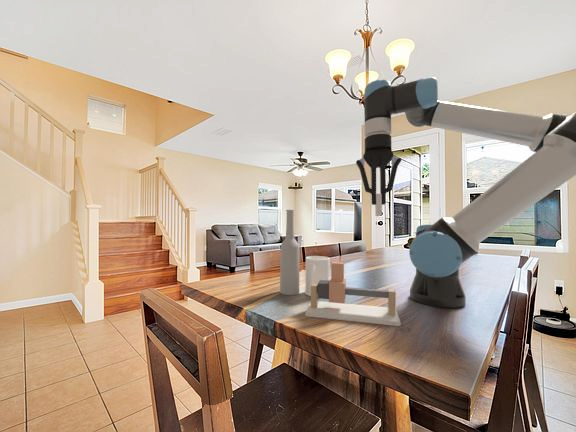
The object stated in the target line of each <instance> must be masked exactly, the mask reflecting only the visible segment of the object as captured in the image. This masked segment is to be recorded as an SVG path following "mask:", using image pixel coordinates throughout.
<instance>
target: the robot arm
mask: <svg viewBox="0 0 576 432" xmlns="http://www.w3.org/2000/svg"><path fill="white" fill-rule="evenodd" d="M438 85H439V84H438V79H437V77H433V76H431V77H427V78H420V79H417V80H413V81H409V82H406V83H402V84H398V85H391V82H390V81H389V80H387V79H381V80H380V79H377V80H373V81H371V82H369V83H368V84H367V85H366V86H365V88H364V99H363V104H364V105H363V109H364V137H365V138H364V154H363V156H362V157H361V158H360V159H357V160H356V162H355V164H356V167H357V168H358V169H359V173H360V176H361V179H362V184H363V187H364V191H365V193H367V194H370V195H371V205H373V206H375V217H382V215H383V211H382V210H383V209H382V206H383V205H385V204H386V202H387V201H386V200H387V199H386V197H387V196H386V194H387V193H389V192H391V191H392V190H393V188H394V183H395V179H396V175H397V171H398V167H399V165H400V163H401V162H402V158H401V157H397V156H396V155H394V151H393V149H392V136H391V134H392V115H396V114H397V115H398V114H402V113H404V114H405V118H406V120H407V122H409V124H411V126H413V127H415V128H416V127H417V128H419V127H420V128H422V127H424V126H427V127H432V128H437V129H441V130H446V131H451V132H452V131H453V132H457V133H461V134H466V135H472V136H476V137H481V138H486V139H491V140H495V141H496V140H497V141H502V142H505V143H510V144H511V143H512V144H515V145H521V146H525V147H528V148H529V151H530V152H533V154H532V155H530V156H529V157H528V158H527V159H526V160H524V161H523V162H522V163H520V164H518V166H516V167H515V168H514V169H512V170H511V171H510V172H509V173H508V174H506V175H505V176H503V177H502V178H501V179H500V180H498V181H497V182H496V183H495V184H493V185H492V186H491V187H489V188H488V189H487V190H485V191H484V192H483V193H481V194H480V195H479V196H477V197H476V198H475V199H474V200H473V201H471V202H470V203H469V204H467V205H466V206H464V208H462V209H461V210H459V211H458V212H457V213H456V214H454V215H453V216H452V217H451V216H450V217H447V216H446V217H445V216H442V217H441V218H439V219H438V220H437V221H436V222H434V223H433V224H422V225H418V226H417V227H416V230H415V237H414V238H413V239H412V241H411V243H410V244H409V252H408V253H409V258H410V261H411V263H412V265H413V266H414V267H415V275H414V278H413V281H412V282H411V283H412V284H411V286H410V289H409V298H410V299H411V300H413V301H414V302H417V303H419V304H422V305H427V306H432V307H438V308H450V309H452V308H454V309H456V308H463V307H464V306H466V302H467V300H466V295H465V291H464V288H463V286H462V282H461V281H460V276H459V275H460V274H459V273H460V269H459V268H460V266H461V264H463V263H465V262H466V261H468V260H469V259H470V258H472V257H473V256H475V255H476V254H478V253H479V250H480V249H479V248H480V243H481V242H483V241H484V240H486V239H487V238H488V237H490V236H492V235H493V234H494V233H495V232H497V231H498V230H500V229H501V228H503V227H504V226H506V225H507V224H508V223H510V222H512V221H513V220H514V219H515V218H517V217H518V216H520V215H521V214H522V213H525V211H527V210H528V209H530V208H531V207H533V206H534V205H536V204H537V203H538V202H539V201H541V200H542V199H544V198H545V197H547V196H548V195H549V194H551V193H552V192H554V191H556V190H557V189H559V188H560V187H561V186H563V185H564V184H565V183H567V182H568V181H569V180H571V179H572V178H574V177H575V176H576V111H575V112H574V113H572V114H565V115H563V114H555V113H550V114H548V115H546V116H539V115H533V114H526V113H518V112H514V111H513V112H512V111H507V110H500V109H496V108H495V109H493V108H488V107H481V106H476V105H475V106H474V105H468V104H462V103H455V102H449V101H442V100H439V89H438ZM390 161H391V162H390ZM365 163H366V164H367V165H368V166H369V168H370V175H371V176H370V177H371V179H370V180H371V182H370V183H371V184H369V180H368V177H367V173H366V169H365ZM389 163H391V164H392V167H391V170H390V174H389V177H388V182H386V178H387V177H386V169H387V166H388V164H389ZM377 169H379V183H380V184H379V187H380V189H379V191H380V193H377ZM386 183H387V184H386ZM370 185H371V187H370ZM386 185H387V186H386Z"/></svg>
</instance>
